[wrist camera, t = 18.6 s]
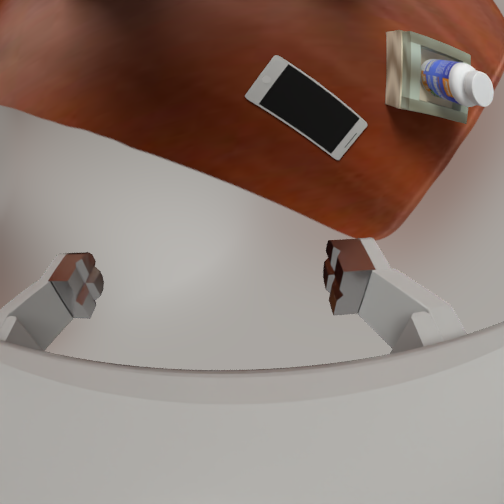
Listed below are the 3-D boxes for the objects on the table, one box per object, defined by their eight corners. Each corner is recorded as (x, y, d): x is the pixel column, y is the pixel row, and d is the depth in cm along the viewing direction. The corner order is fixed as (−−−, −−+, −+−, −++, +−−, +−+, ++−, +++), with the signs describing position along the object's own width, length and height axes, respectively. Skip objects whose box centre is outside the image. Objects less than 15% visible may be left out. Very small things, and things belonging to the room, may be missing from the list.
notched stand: (386, 32, 23) (408, 28, 19) (446, 51, 23) (471, 54, 19) (385, 103, 30) (406, 111, 25) (443, 115, 30) (467, 125, 25)
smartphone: (275, 54, 27) (276, 53, 26) (366, 122, 32) (369, 124, 32) (243, 96, 31) (243, 97, 30) (336, 159, 36) (338, 161, 35)
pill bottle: (411, 75, 24) (460, 85, 16) (430, 51, 21) (480, 56, 14) (435, 104, 26) (483, 123, 18) (453, 80, 23) (502, 94, 15)
